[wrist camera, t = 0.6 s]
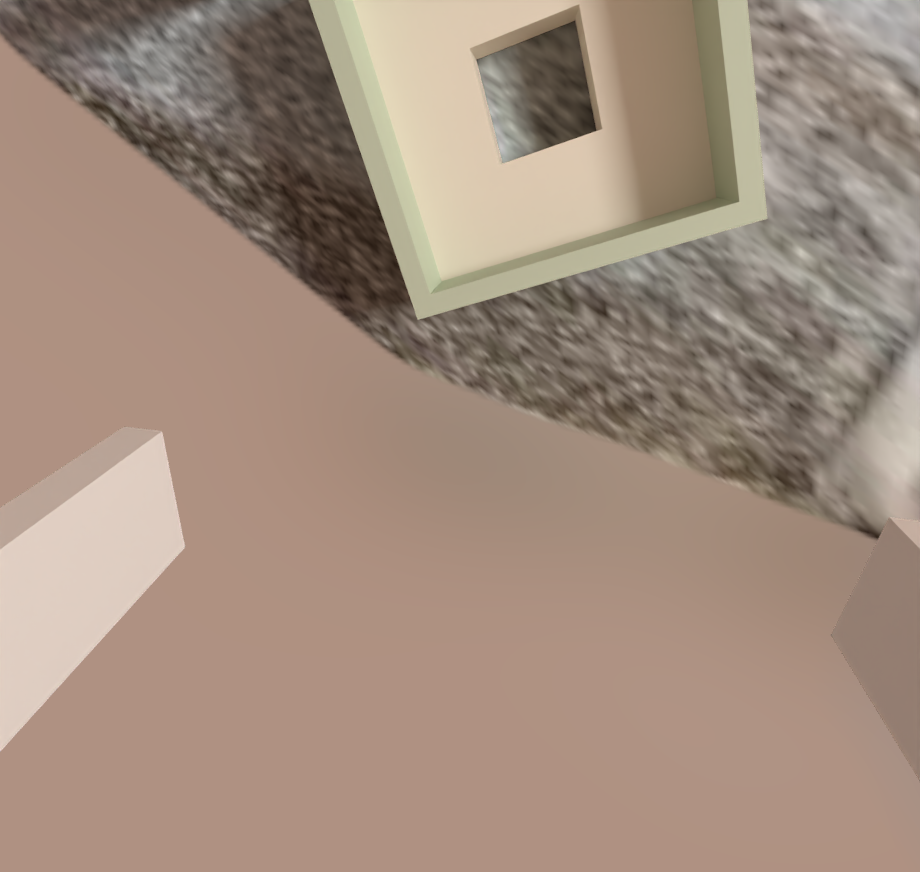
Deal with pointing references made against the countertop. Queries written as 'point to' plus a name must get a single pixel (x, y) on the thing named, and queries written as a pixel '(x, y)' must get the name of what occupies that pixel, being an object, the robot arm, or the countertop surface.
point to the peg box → (555, 168)
